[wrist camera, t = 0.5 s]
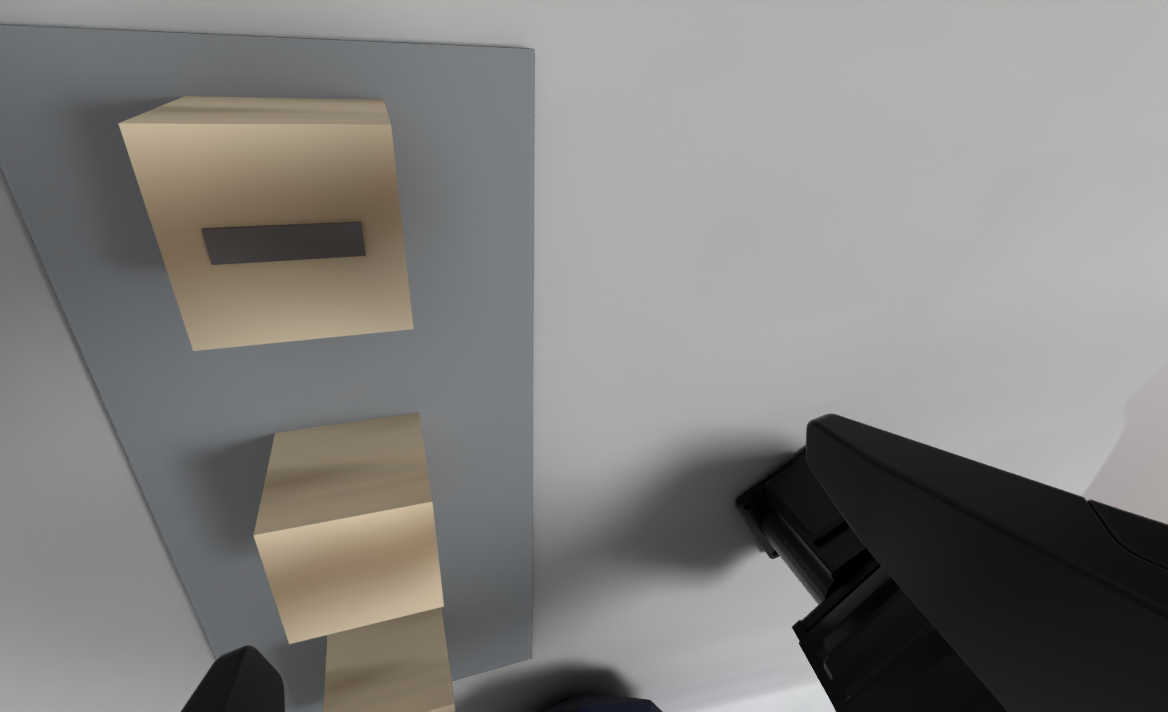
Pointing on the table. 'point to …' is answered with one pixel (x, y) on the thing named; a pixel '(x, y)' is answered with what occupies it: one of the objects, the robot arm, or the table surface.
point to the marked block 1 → (274, 216)
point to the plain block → (349, 526)
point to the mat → (307, 367)
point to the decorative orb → (604, 704)
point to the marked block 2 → (390, 667)
